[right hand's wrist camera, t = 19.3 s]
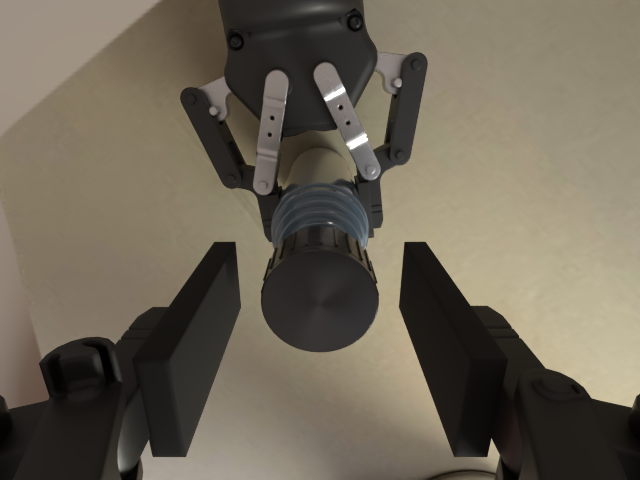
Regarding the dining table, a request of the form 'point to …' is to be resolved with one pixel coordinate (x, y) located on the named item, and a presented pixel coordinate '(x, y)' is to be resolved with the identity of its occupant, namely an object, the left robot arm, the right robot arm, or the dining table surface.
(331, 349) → the cap
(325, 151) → the bottle
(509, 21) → the dining table surface
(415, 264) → the right robot arm
